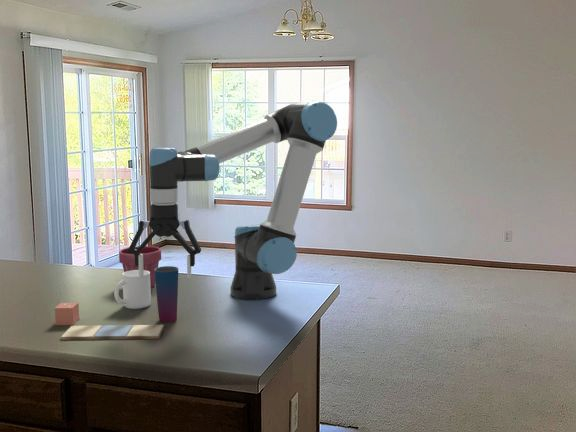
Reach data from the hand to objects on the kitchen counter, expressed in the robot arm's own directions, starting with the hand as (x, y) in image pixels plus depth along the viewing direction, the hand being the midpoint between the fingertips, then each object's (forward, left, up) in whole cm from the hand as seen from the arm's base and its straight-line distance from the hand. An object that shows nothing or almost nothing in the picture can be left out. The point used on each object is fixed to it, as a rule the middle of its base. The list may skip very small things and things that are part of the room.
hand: (165, 277), depth 175 cm
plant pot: (+15, -37, -13) cm, 42 cm away
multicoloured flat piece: (+12, +11, -13) cm, 21 cm away
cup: (0, 0, -13) cm, 13 cm away
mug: (+13, -13, -13) cm, 22 cm away
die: (+28, +1, -13) cm, 31 cm away
